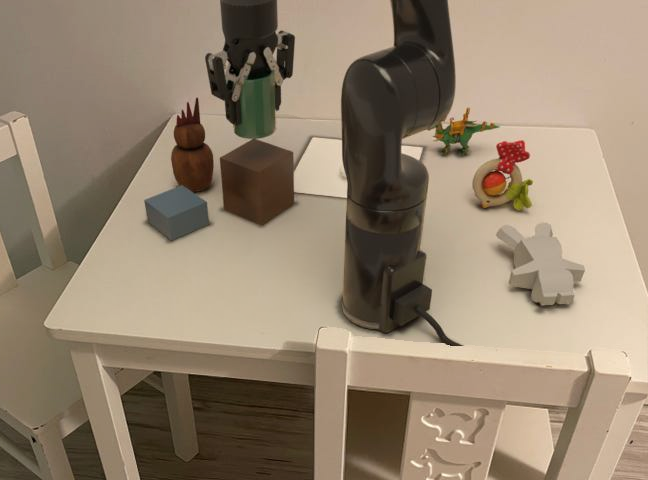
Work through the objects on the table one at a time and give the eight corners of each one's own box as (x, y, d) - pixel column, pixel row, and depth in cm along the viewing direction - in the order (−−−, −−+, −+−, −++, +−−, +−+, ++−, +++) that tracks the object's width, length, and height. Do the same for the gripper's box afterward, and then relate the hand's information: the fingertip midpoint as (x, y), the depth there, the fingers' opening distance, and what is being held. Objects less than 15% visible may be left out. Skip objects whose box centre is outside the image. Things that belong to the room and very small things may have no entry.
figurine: (423, 149, 129) (428, 103, 124) (493, 148, 128) (502, 103, 123) (425, 157, 127) (430, 111, 122) (496, 156, 126) (505, 110, 121)
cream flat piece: (335, 182, 122) (336, 160, 119) (345, 160, 128) (346, 138, 125) (388, 188, 120) (390, 165, 117) (396, 165, 125) (398, 143, 123)
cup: (284, 129, 108) (283, 72, 103) (250, 143, 106) (247, 84, 100) (258, 116, 112) (256, 60, 106) (225, 129, 109) (220, 71, 104)
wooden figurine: (217, 178, 125) (209, 91, 115) (213, 195, 121) (204, 107, 111) (178, 178, 126) (167, 92, 116) (172, 195, 122) (160, 107, 112)
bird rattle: (487, 229, 113) (547, 206, 111) (467, 170, 107) (530, 144, 104) (478, 209, 118) (536, 186, 115) (459, 150, 111) (519, 125, 109)
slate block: (209, 224, 114) (207, 201, 112) (171, 240, 111) (167, 217, 109) (184, 207, 119) (182, 184, 116) (147, 222, 116) (143, 199, 113)
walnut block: (294, 204, 118) (293, 151, 112) (262, 225, 113) (259, 172, 107) (256, 189, 122) (253, 138, 116) (223, 209, 118) (219, 157, 111)
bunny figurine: (525, 289, 92) (493, 214, 102) (516, 317, 96) (486, 243, 106) (600, 283, 92) (561, 209, 102) (588, 312, 96) (551, 238, 106)
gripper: (219, 13, 91) (229, 140, 102) (308, -13, 97) (308, 110, 108) (186, 0, 96) (199, 123, 107) (273, -24, 102) (277, 95, 113)
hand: (254, 116), depth 108 cm, fingers closed on cup, 6 cm apart
